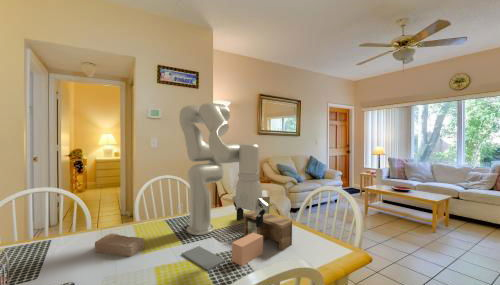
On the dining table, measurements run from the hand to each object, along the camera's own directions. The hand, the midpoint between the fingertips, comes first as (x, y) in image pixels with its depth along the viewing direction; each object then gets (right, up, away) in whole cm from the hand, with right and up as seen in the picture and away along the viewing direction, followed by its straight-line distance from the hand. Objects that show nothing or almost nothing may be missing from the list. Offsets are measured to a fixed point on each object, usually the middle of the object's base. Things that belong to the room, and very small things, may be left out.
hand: (249, 223), depth 88 cm
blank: (-1, -13, +1) cm, 13 cm away
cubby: (+7, -13, +15) cm, 21 cm away
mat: (-17, -13, 0) cm, 22 cm away
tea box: (+5, -12, +40) cm, 42 cm away
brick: (-51, -13, +6) cm, 53 cm away
